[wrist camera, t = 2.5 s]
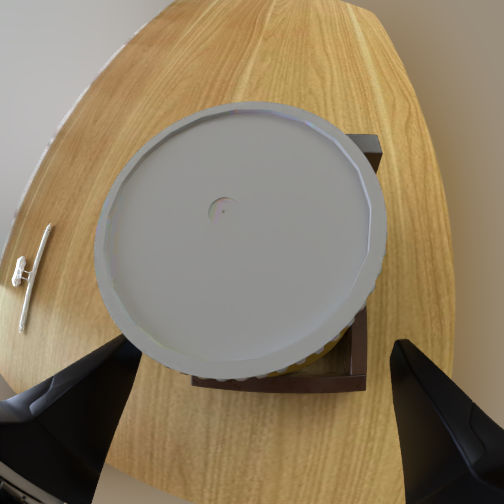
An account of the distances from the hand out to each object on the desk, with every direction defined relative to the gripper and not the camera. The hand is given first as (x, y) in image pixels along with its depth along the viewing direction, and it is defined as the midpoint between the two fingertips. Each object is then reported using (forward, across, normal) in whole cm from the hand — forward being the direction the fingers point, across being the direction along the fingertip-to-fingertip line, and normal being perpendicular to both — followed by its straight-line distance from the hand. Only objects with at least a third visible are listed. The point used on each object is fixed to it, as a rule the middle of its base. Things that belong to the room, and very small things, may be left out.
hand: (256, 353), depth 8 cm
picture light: (+11, +30, +4) cm, 32 cm away
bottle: (+9, 0, +6) cm, 11 cm away
